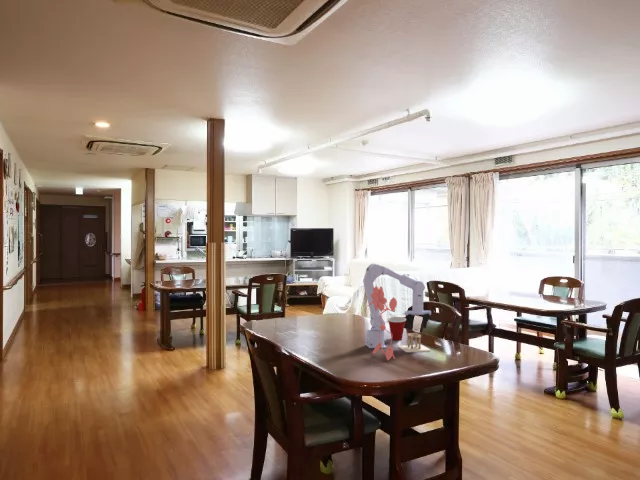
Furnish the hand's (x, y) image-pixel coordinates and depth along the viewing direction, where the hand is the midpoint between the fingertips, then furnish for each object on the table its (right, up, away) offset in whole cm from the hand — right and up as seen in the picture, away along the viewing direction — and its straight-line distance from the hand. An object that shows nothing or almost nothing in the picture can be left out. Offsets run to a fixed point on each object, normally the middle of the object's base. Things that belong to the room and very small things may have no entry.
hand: (417, 328), depth 236 cm
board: (-4, -9, -8) cm, 13 cm away
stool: (-4, -9, -8) cm, 12 cm away
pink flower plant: (-25, -10, -25) cm, 37 cm away
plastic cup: (-9, -10, +15) cm, 20 cm away
